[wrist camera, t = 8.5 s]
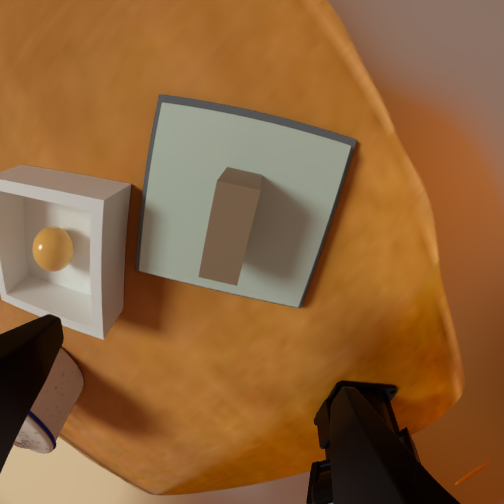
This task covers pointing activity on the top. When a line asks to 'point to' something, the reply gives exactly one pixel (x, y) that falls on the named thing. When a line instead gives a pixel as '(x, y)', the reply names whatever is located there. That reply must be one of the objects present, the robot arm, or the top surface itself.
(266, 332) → the top surface
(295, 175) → the lid
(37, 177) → the dish
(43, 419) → the teacup with lid
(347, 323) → the top surface
